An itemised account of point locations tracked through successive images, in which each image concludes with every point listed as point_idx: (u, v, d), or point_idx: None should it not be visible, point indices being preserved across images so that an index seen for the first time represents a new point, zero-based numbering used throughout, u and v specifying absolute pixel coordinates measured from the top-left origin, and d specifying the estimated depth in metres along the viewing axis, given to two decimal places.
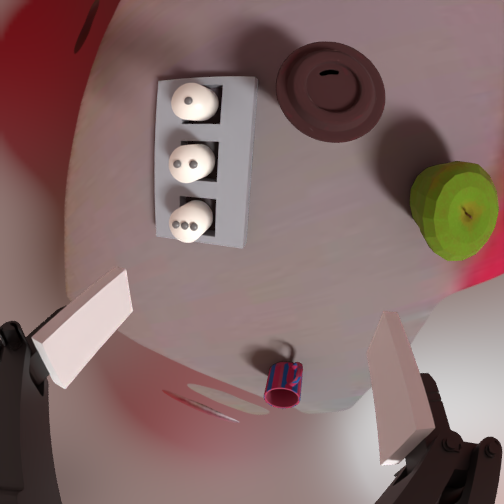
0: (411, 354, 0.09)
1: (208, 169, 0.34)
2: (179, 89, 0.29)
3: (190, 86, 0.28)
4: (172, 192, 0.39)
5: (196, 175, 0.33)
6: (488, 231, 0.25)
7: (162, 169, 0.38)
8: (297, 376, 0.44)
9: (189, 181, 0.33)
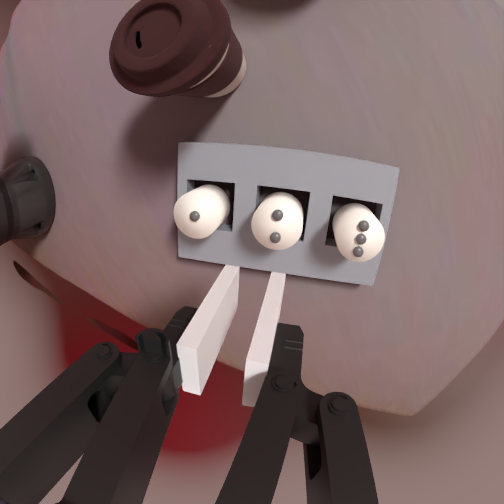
0: (280, 305, 0.12)
1: (289, 198, 0.27)
2: (180, 227, 0.28)
3: (177, 213, 0.27)
4: (319, 254, 0.31)
5: (293, 212, 0.25)
6: None
7: (287, 263, 0.32)
8: None
9: (300, 223, 0.25)
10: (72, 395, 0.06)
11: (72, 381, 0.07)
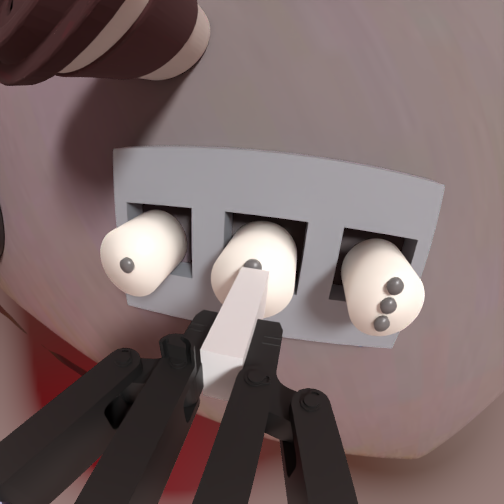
0: (260, 301, 0.12)
1: (274, 235, 0.17)
2: (112, 278, 0.17)
3: (106, 259, 0.17)
4: (319, 312, 0.20)
5: (279, 264, 0.15)
6: None
7: None
8: None
9: (291, 281, 0.15)
10: (88, 403, 0.06)
11: (89, 388, 0.07)
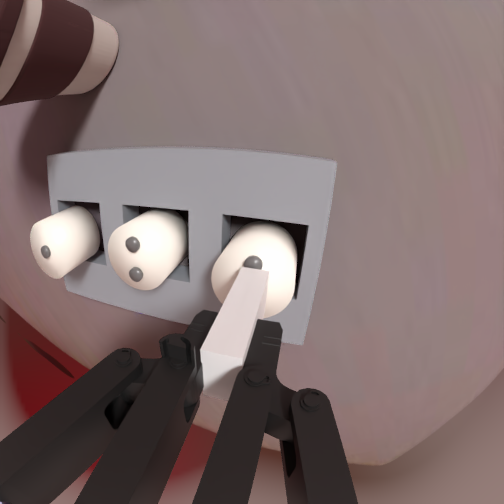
0: (260, 301, 0.12)
1: (159, 218, 0.18)
2: (39, 263, 0.18)
3: (34, 247, 0.17)
4: (215, 300, 0.21)
5: (151, 240, 0.17)
6: None
7: (175, 309, 0.22)
8: None
9: (163, 255, 0.17)
10: (88, 403, 0.06)
11: (89, 388, 0.07)
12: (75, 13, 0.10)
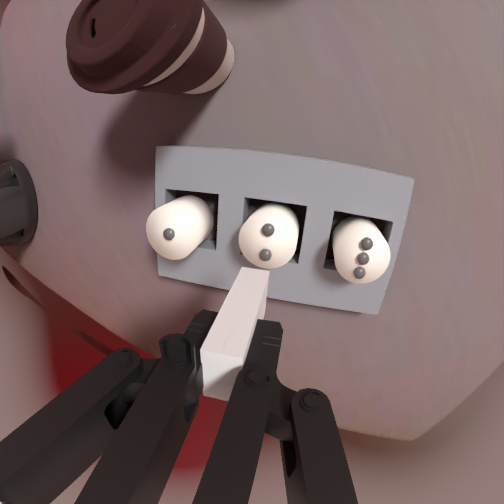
0: (260, 301, 0.12)
1: (283, 210, 0.24)
2: (154, 245, 0.24)
3: (150, 230, 0.23)
4: (316, 279, 0.26)
5: (286, 227, 0.22)
6: None
7: (279, 288, 0.27)
8: None
9: (294, 239, 0.22)
10: (88, 403, 0.06)
11: (89, 388, 0.07)
12: (218, 22, 0.15)
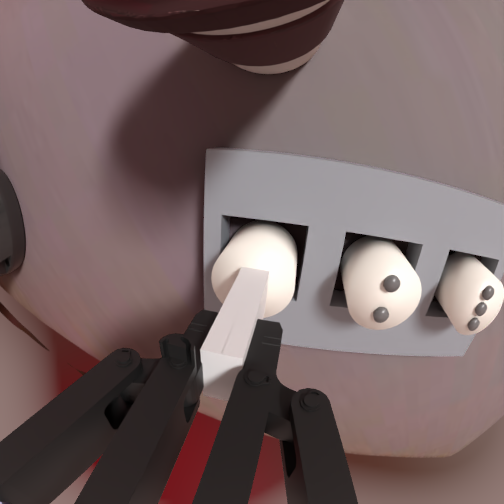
0: (260, 301, 0.12)
1: (398, 251, 0.16)
2: (223, 299, 0.17)
3: (219, 278, 0.16)
4: (415, 328, 0.19)
5: (413, 279, 0.14)
6: None
7: (371, 341, 0.20)
8: None
9: (419, 294, 0.15)
10: (89, 403, 0.06)
11: (89, 388, 0.07)
12: None
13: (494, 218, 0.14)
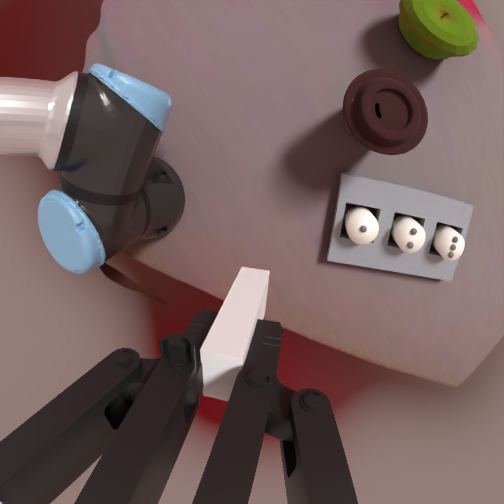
0: (260, 301, 0.12)
1: None
2: (350, 235, 0.39)
3: (350, 226, 0.38)
4: (424, 260, 0.40)
5: (421, 230, 0.36)
6: None
7: (404, 266, 0.41)
8: None
9: (424, 237, 0.36)
10: (88, 403, 0.06)
11: (89, 388, 0.07)
12: None
13: (458, 208, 0.35)
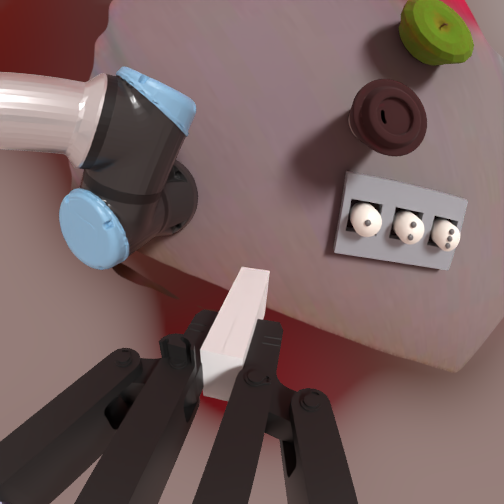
0: (260, 301, 0.12)
1: None
2: (356, 229, 0.42)
3: (356, 220, 0.41)
4: (423, 251, 0.43)
5: (420, 223, 0.39)
6: (447, 8, 0.20)
7: (405, 256, 0.44)
8: None
9: (423, 229, 0.39)
10: (88, 403, 0.06)
11: (89, 388, 0.07)
12: None
13: (453, 203, 0.39)
